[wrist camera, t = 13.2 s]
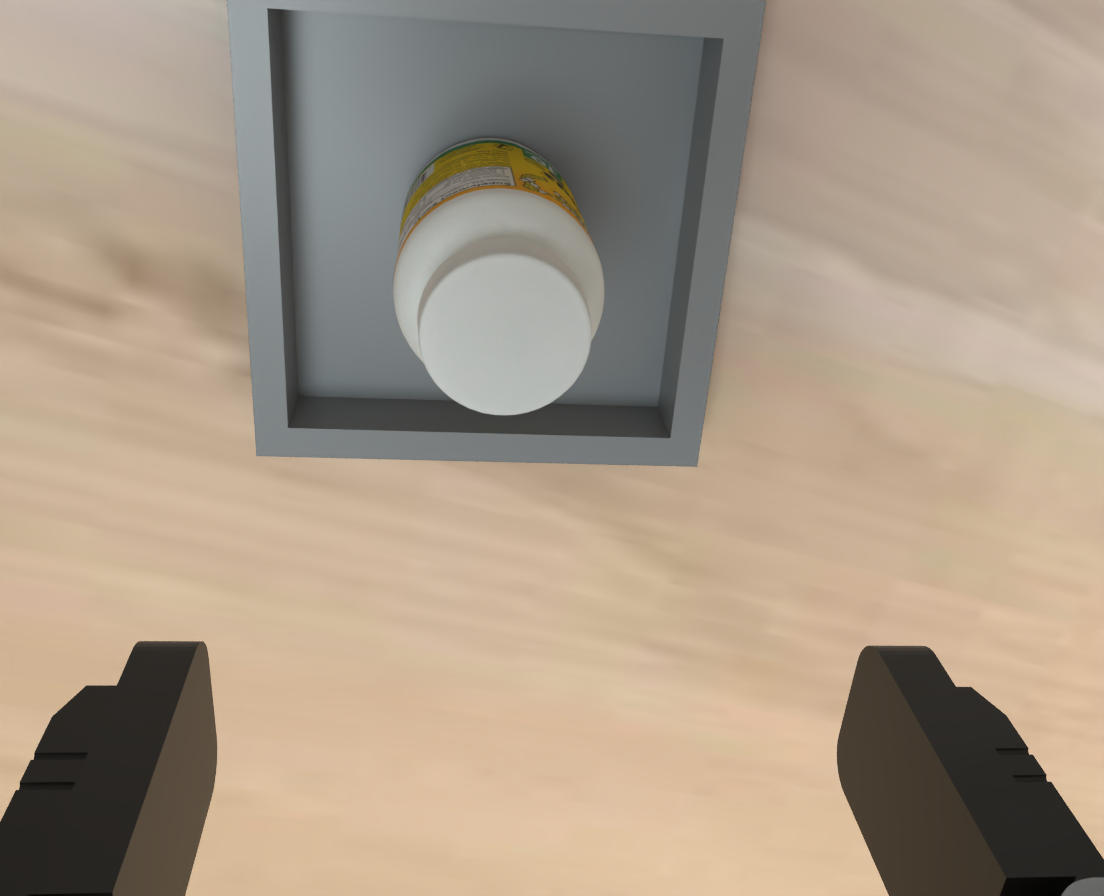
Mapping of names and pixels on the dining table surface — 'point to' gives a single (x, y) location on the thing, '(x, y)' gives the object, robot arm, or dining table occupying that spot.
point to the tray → (457, 116)
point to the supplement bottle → (497, 277)
